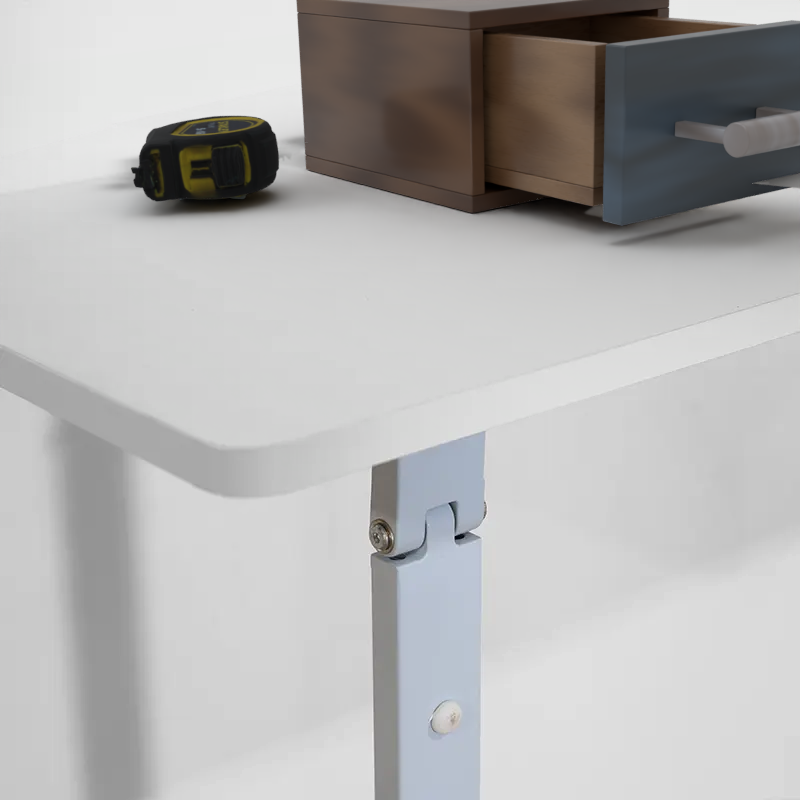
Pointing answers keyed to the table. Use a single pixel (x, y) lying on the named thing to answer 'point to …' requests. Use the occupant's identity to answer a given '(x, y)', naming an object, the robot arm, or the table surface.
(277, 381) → the table surface
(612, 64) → the drawer
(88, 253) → the table surface
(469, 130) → the cabinet
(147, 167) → the tape measure
